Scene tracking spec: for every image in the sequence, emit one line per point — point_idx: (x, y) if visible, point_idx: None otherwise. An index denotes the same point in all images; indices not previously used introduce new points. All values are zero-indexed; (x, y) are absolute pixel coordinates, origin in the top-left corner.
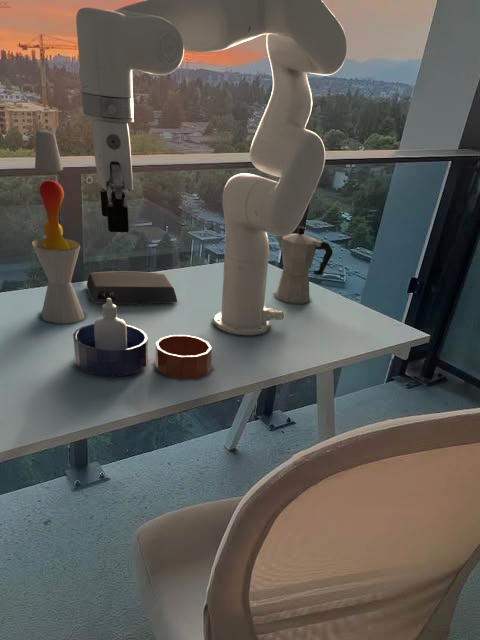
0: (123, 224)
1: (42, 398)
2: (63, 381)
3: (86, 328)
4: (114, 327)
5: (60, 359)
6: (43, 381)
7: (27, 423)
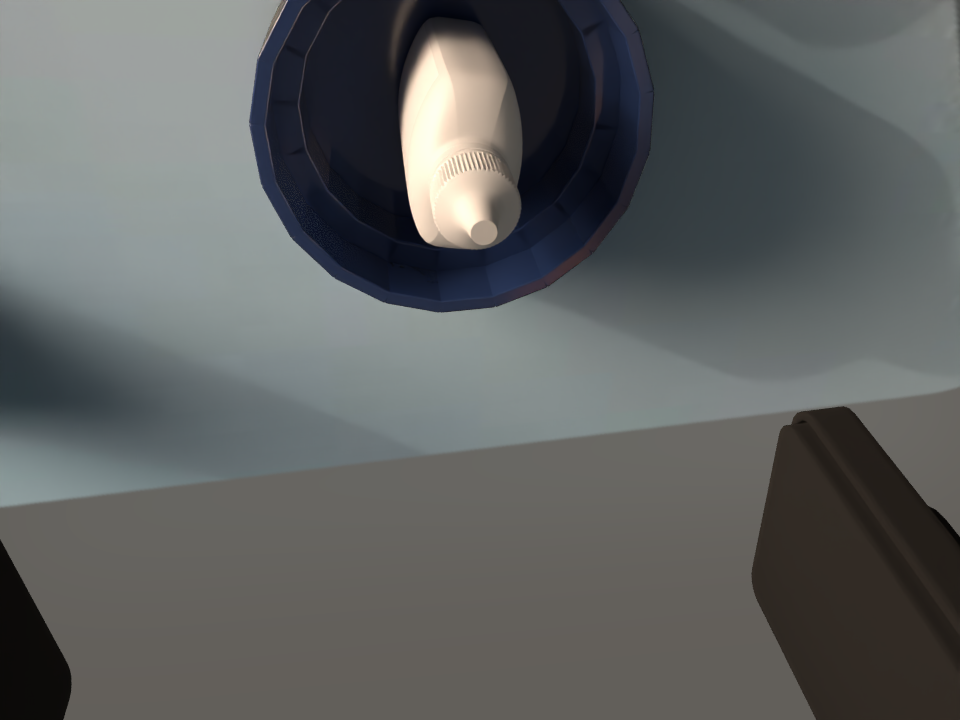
0: (949, 526)
1: (727, 334)
2: (606, 280)
3: (333, 255)
4: (522, 143)
5: None
6: (597, 342)
7: (879, 358)
